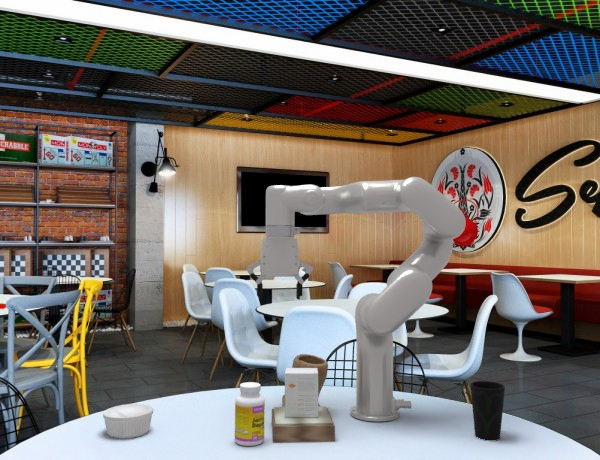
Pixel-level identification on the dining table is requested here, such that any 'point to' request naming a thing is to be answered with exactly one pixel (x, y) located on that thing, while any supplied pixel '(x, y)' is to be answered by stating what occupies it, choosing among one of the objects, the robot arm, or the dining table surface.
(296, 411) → the small box
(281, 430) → the stand
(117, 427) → the ramekin
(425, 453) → the dining table surface
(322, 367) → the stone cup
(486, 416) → the cup
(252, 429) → the supplement bottle
